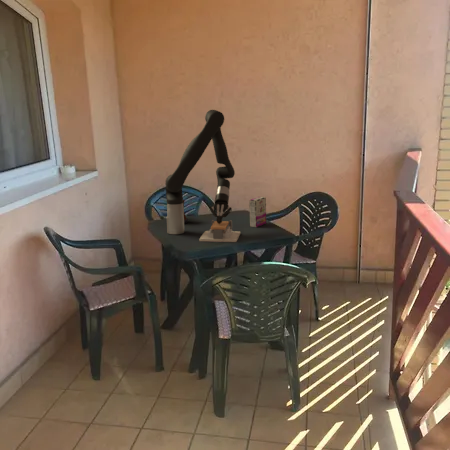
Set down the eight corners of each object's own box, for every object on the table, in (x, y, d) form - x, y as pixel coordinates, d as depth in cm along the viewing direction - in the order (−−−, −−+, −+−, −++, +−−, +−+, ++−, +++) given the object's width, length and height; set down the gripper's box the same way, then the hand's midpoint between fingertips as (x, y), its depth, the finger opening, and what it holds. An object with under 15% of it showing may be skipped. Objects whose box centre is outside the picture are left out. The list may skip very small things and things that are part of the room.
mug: (166, 219, 317) (165, 196, 313) (183, 217, 320) (182, 194, 316) (171, 225, 300) (169, 201, 296) (189, 223, 303) (188, 199, 299)
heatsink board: (199, 241, 265) (198, 226, 264) (205, 232, 282) (205, 219, 280) (236, 242, 262) (235, 227, 260) (240, 233, 278) (240, 219, 277)
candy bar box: (259, 222, 302) (259, 196, 298) (266, 223, 299) (266, 197, 295) (249, 226, 293) (248, 199, 289) (256, 227, 290) (255, 200, 286)
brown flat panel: (215, 222, 277) (210, 229, 265) (215, 220, 277) (210, 227, 265) (229, 223, 276) (225, 229, 264) (229, 221, 276) (225, 227, 263)
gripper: (209, 192, 274) (205, 219, 265) (233, 192, 272) (230, 219, 263) (211, 199, 280) (208, 226, 272) (234, 200, 278) (231, 226, 269)
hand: (219, 222), depth 267 cm, fingers closed
